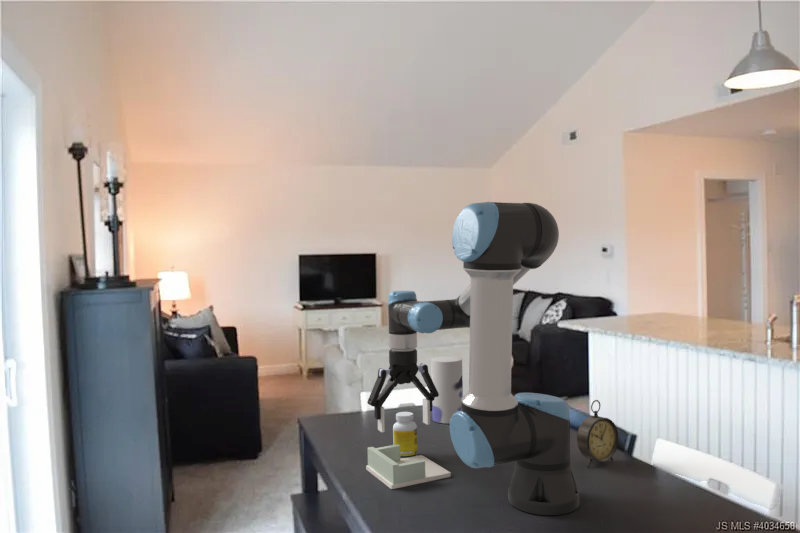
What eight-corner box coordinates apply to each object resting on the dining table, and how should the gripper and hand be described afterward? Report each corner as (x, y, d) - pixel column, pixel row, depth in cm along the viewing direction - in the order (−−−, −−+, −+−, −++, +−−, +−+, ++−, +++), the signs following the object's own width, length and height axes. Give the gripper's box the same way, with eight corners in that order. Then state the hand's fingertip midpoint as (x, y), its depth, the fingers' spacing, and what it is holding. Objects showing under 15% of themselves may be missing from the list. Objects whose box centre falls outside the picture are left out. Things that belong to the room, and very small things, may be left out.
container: (464, 423, 195) (463, 360, 195) (433, 424, 196) (431, 361, 195) (462, 415, 205) (460, 355, 205) (431, 415, 206) (430, 356, 205)
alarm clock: (589, 470, 152) (588, 405, 152) (573, 464, 157) (572, 400, 157) (620, 462, 158) (619, 399, 157) (603, 456, 162) (602, 395, 162)
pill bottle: (415, 461, 162) (414, 417, 162) (391, 460, 163) (390, 416, 163) (419, 453, 168) (418, 411, 168) (396, 452, 170) (395, 410, 169)
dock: (450, 476, 150) (450, 454, 150) (391, 489, 143) (390, 465, 143) (421, 458, 164) (421, 438, 164) (366, 469, 157) (365, 447, 157)
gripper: (436, 342, 174) (437, 417, 175) (354, 350, 163) (355, 430, 164) (450, 346, 167) (451, 424, 168) (365, 355, 156) (367, 438, 157)
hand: (404, 427), depth 166 cm, fingers open, 13 cm apart
